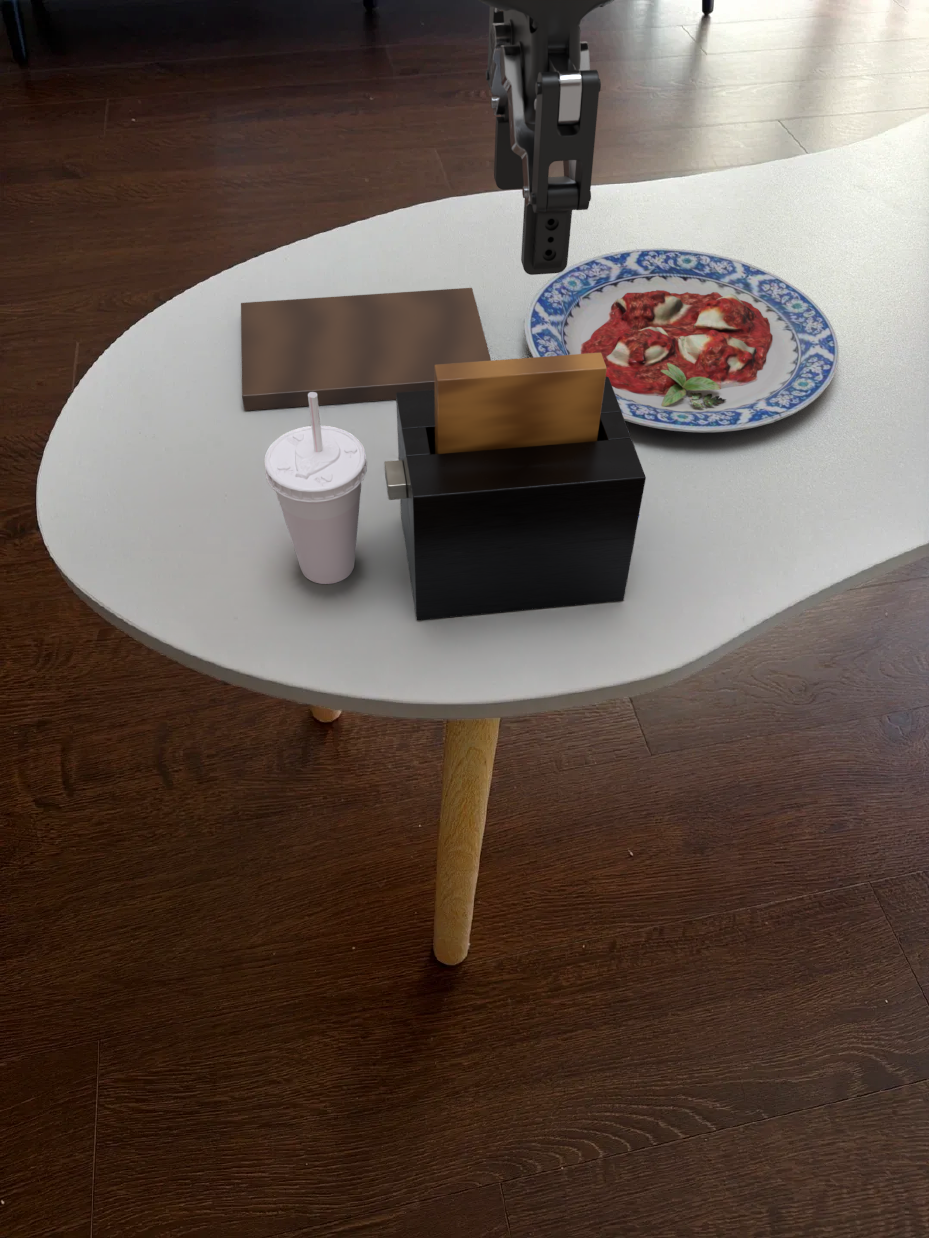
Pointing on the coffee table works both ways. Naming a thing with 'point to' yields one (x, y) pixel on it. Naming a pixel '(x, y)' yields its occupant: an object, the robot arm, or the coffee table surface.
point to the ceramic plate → (688, 337)
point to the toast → (518, 402)
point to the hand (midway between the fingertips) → (528, 226)
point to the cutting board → (354, 346)
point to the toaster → (515, 517)
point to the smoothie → (319, 494)
